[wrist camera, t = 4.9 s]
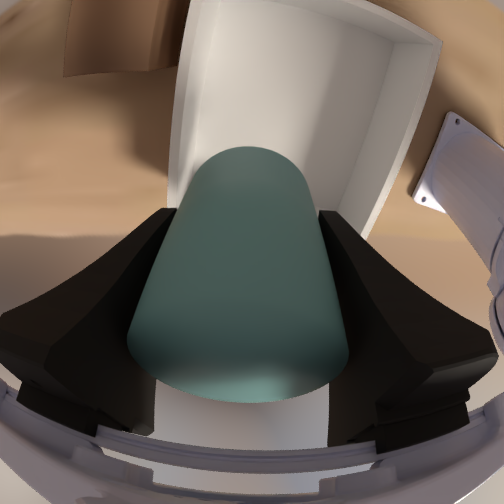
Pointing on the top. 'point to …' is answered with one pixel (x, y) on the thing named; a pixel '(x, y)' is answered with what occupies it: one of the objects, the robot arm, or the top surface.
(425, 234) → the top surface
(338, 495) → the robot arm
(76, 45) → the walnut cube
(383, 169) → the tote
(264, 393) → the teal cylinder
